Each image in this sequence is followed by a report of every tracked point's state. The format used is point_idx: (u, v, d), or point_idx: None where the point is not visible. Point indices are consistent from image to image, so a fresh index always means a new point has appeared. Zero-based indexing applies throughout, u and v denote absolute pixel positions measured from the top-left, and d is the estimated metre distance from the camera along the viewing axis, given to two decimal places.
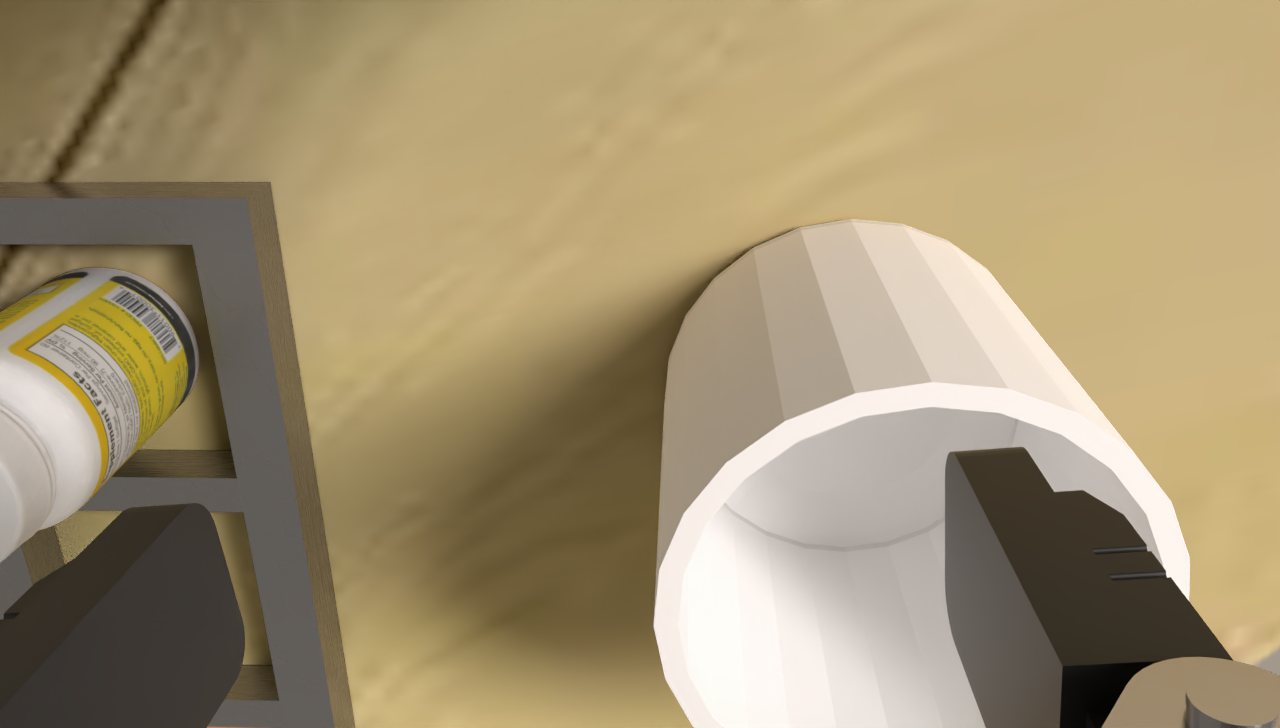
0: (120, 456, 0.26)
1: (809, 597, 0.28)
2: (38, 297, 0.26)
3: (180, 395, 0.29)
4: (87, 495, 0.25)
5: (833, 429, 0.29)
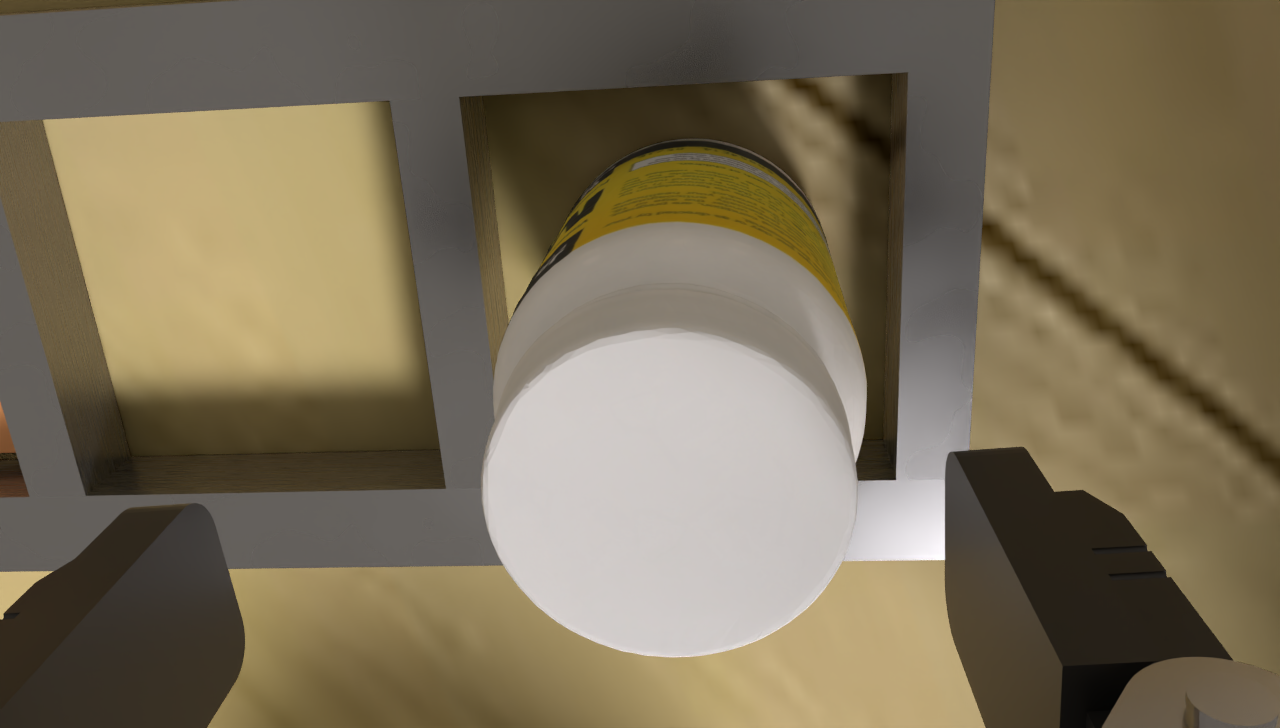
0: None
1: None
2: None
3: None
4: None
5: None
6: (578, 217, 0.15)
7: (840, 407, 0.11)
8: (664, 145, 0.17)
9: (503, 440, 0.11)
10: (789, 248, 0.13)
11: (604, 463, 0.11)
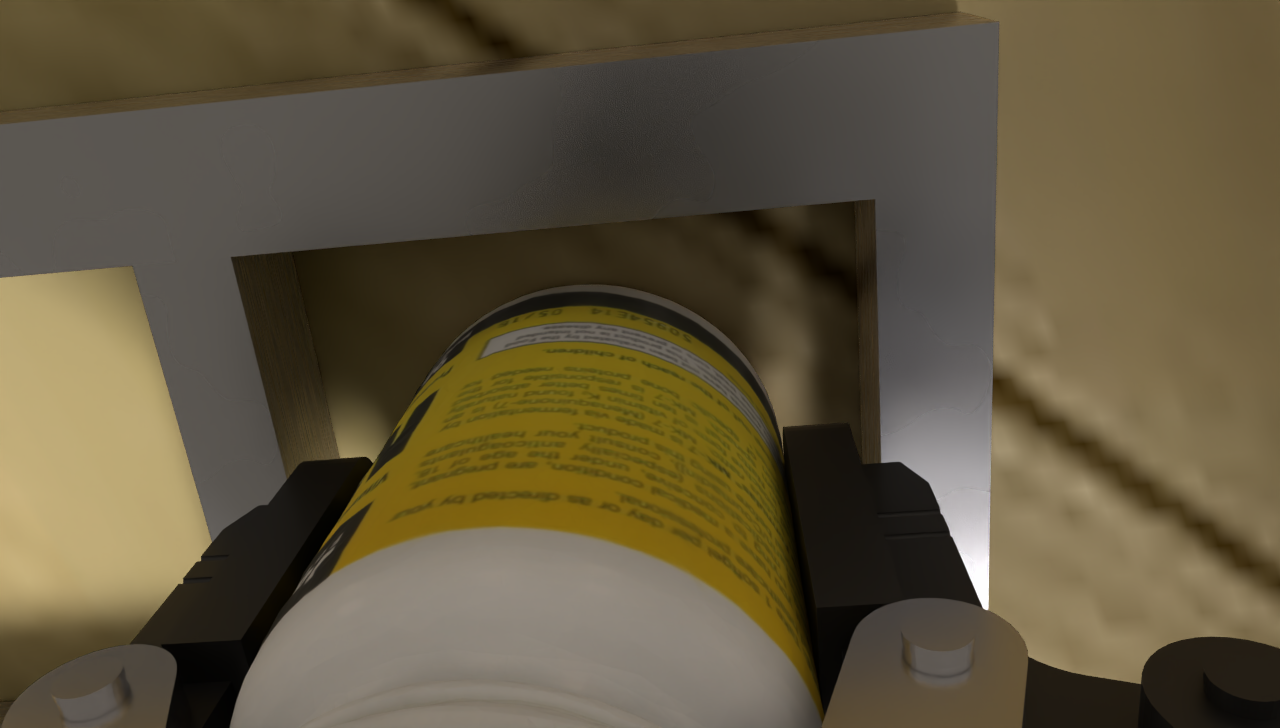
0: None
1: None
2: None
3: None
4: None
5: None
6: (388, 453, 0.10)
7: None
8: (538, 303, 0.12)
9: None
10: (692, 546, 0.08)
11: None
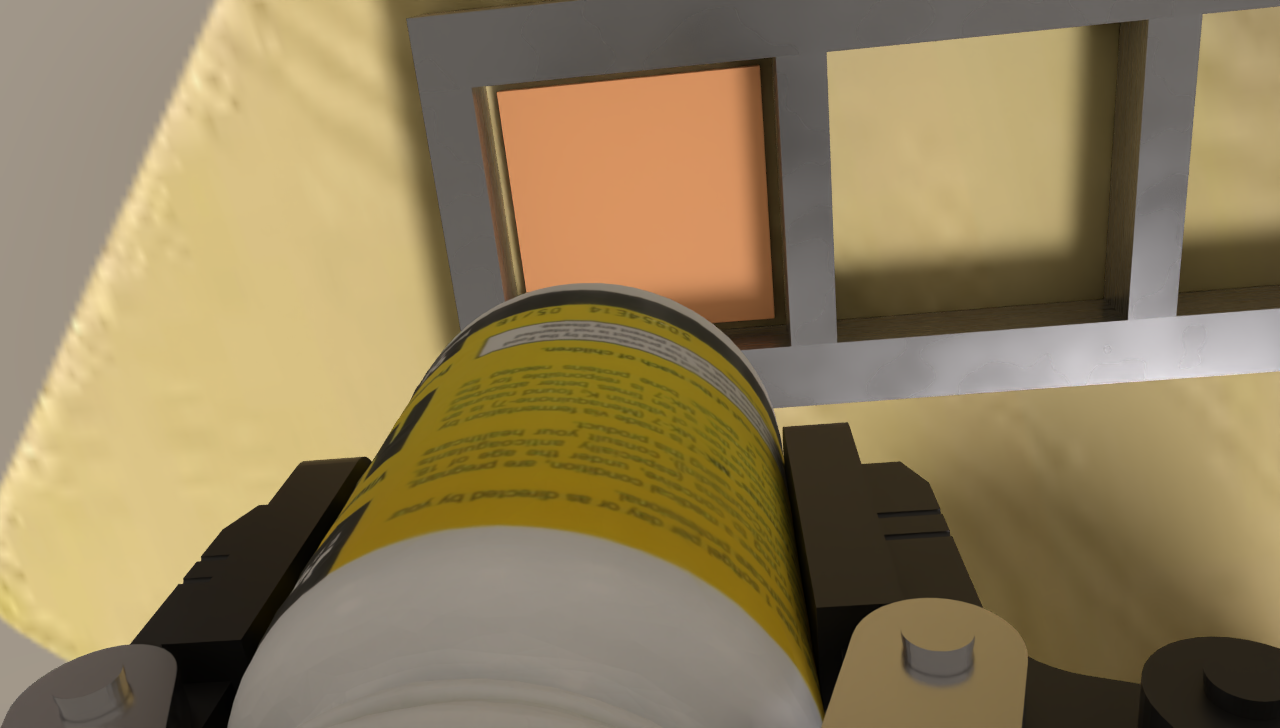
0: None
1: None
2: None
3: None
4: None
5: None
6: (386, 451, 0.10)
7: None
8: (537, 301, 0.12)
9: None
10: (692, 545, 0.08)
11: None
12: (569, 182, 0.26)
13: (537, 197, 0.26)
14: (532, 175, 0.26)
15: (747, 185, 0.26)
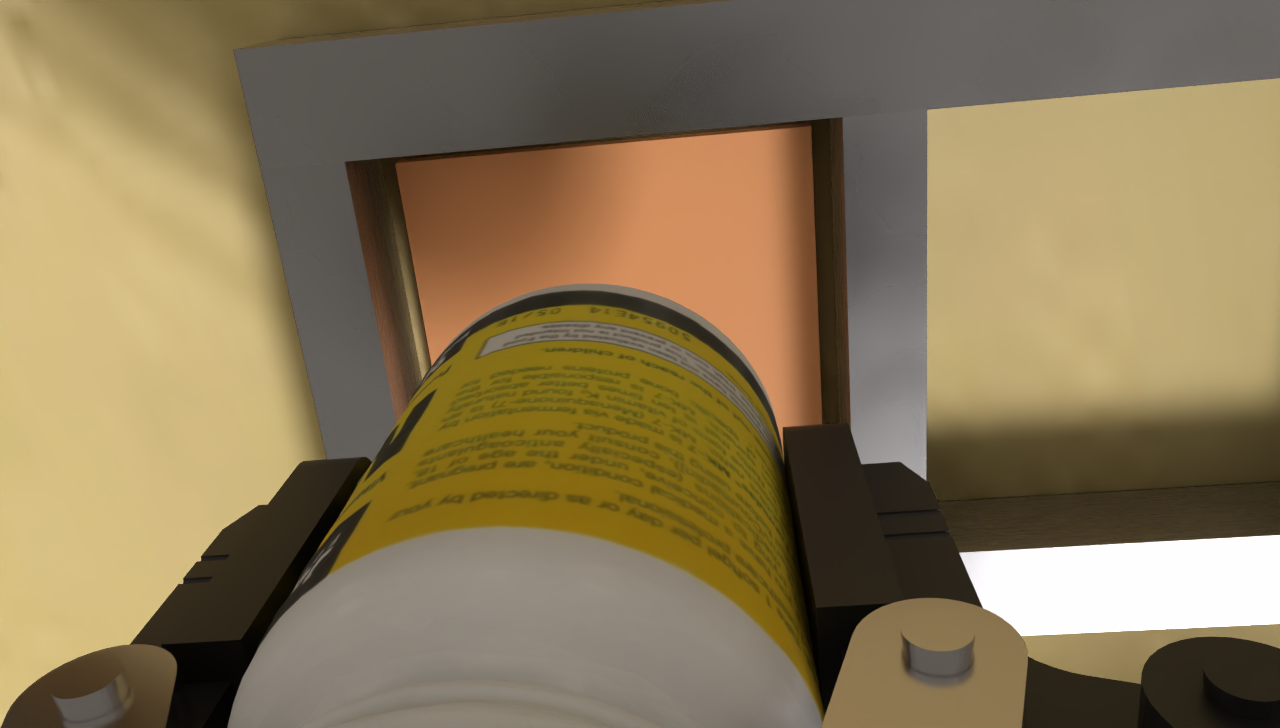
0: None
1: None
2: None
3: None
4: None
5: None
6: (386, 452, 0.10)
7: None
8: (537, 301, 0.12)
9: None
10: (692, 545, 0.08)
11: None
12: None
13: (462, 321, 0.17)
14: (453, 288, 0.17)
15: (788, 307, 0.16)
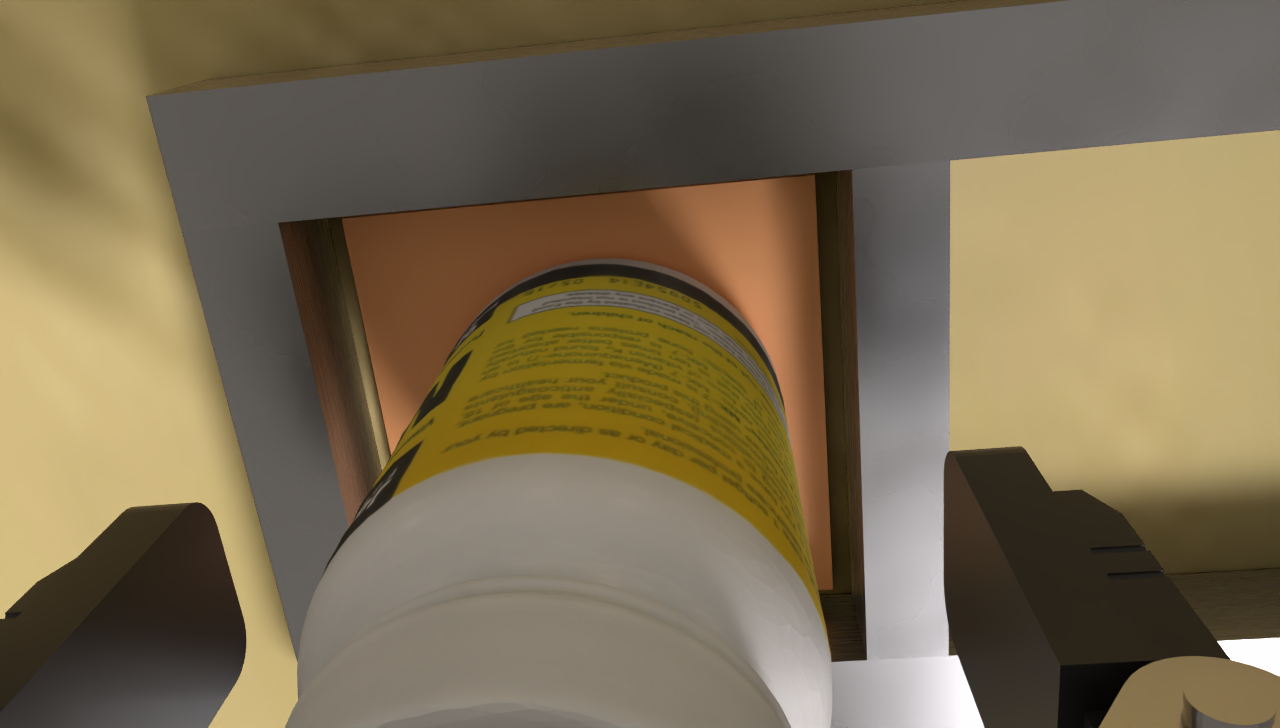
0: None
1: None
2: (795, 470, 0.12)
3: None
4: None
5: None
6: (431, 403, 0.11)
7: None
8: (560, 274, 0.13)
9: None
10: (709, 473, 0.09)
11: None
12: None
13: (421, 393, 0.15)
14: (410, 357, 0.15)
15: (789, 377, 0.14)
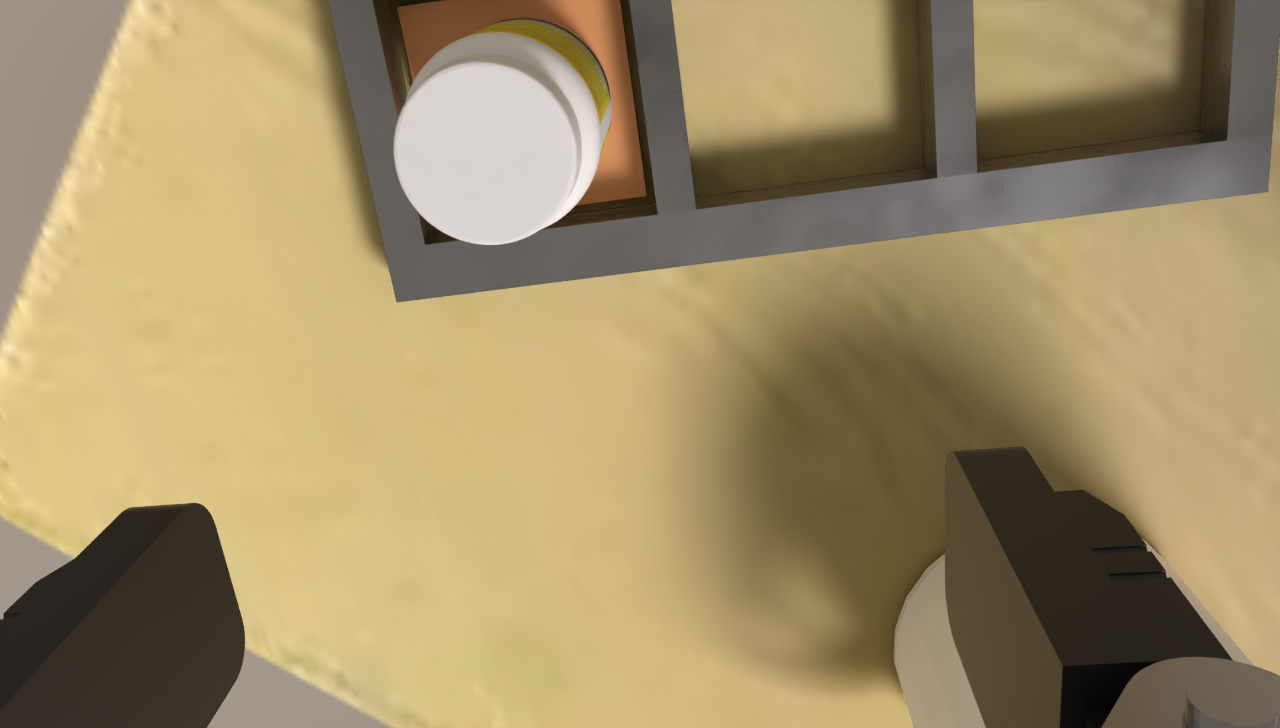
0: None
1: None
2: (604, 93, 0.28)
3: None
4: None
5: None
6: None
7: (566, 105, 0.23)
8: (500, 21, 0.29)
9: (401, 129, 0.22)
10: (549, 44, 0.24)
11: (452, 136, 0.22)
12: None
13: None
14: None
15: (614, 79, 0.30)
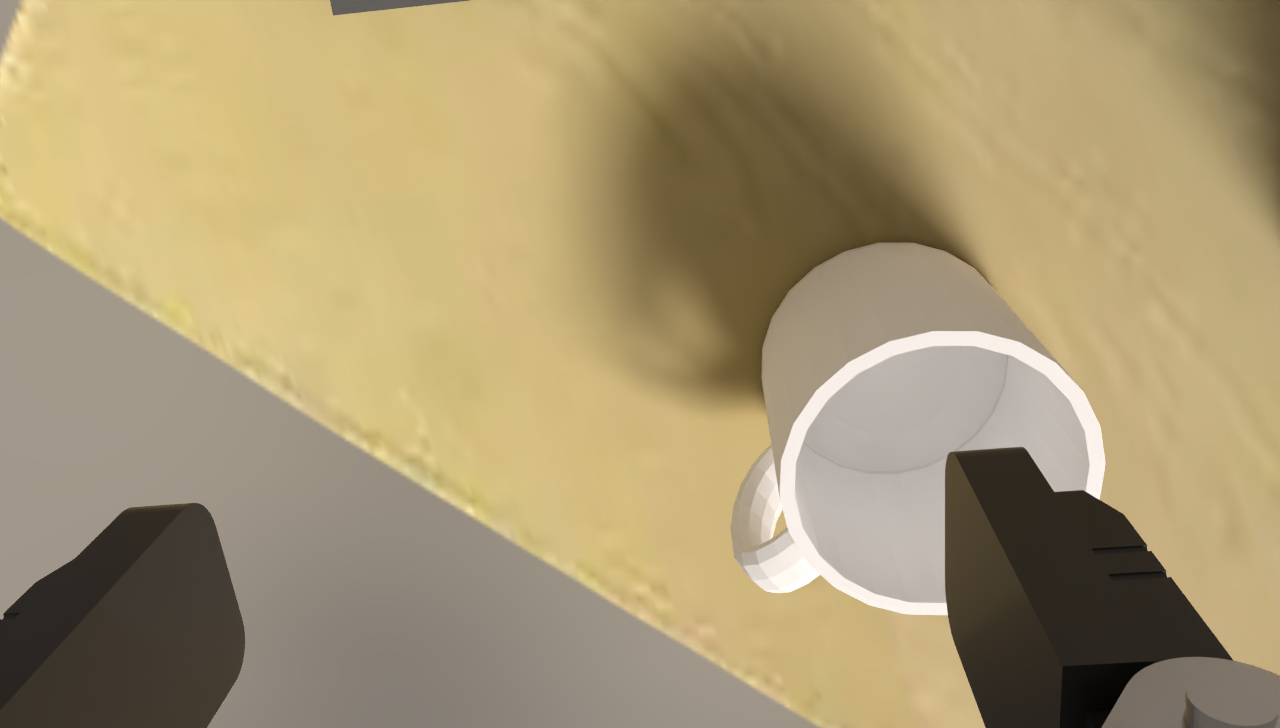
0: None
1: None
2: None
3: None
4: None
5: None
6: None
7: None
8: None
9: None
10: None
11: None
12: None
13: None
14: None
15: None
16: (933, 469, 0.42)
